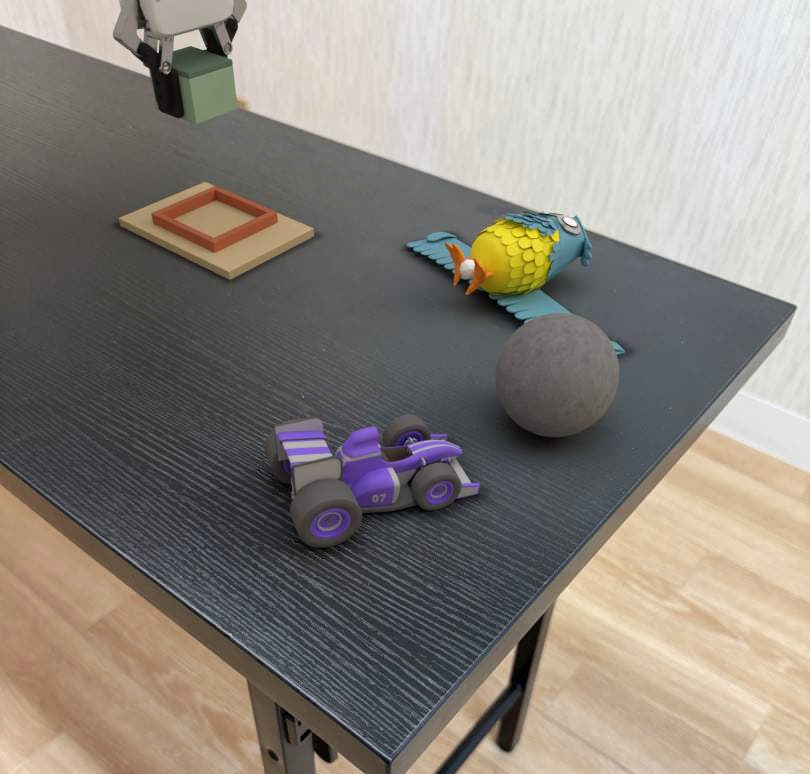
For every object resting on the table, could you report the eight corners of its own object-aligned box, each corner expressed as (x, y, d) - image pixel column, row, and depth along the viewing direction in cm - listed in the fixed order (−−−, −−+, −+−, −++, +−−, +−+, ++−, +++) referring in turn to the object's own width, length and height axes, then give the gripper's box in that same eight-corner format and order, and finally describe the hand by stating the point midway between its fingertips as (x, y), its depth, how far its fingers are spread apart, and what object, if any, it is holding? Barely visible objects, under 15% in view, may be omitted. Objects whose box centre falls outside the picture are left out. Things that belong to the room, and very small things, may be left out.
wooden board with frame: (120, 226, 92) (115, 207, 90) (206, 189, 99) (203, 171, 97) (229, 280, 84) (227, 260, 83) (314, 236, 91) (313, 217, 90)
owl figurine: (380, 175, 82) (494, 149, 89) (378, 256, 89) (484, 225, 95) (569, 298, 67) (689, 255, 74) (550, 384, 73) (662, 337, 80)
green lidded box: (155, 108, 80) (146, 58, 77) (198, 94, 83) (190, 45, 80) (196, 124, 78) (188, 73, 75) (238, 109, 81) (232, 59, 78)
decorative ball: (466, 412, 70) (477, 311, 63) (550, 376, 75) (570, 277, 67) (542, 477, 65) (564, 375, 58) (628, 434, 69) (659, 334, 62)
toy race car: (486, 507, 63) (496, 443, 58) (300, 556, 58) (294, 491, 54) (438, 432, 68) (444, 368, 64) (266, 472, 64) (258, 407, 60)
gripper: (208, -143, 73) (234, 75, 87) (45, -122, 64) (101, 119, 77) (266, -133, 70) (284, 92, 84) (104, -108, 61) (152, 140, 74)
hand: (196, 103), depth 80 cm, fingers closed on green lidded box, 5 cm apart
